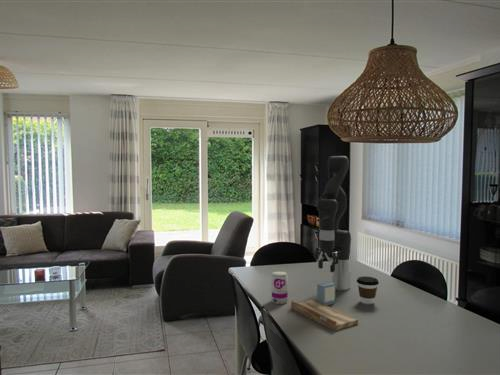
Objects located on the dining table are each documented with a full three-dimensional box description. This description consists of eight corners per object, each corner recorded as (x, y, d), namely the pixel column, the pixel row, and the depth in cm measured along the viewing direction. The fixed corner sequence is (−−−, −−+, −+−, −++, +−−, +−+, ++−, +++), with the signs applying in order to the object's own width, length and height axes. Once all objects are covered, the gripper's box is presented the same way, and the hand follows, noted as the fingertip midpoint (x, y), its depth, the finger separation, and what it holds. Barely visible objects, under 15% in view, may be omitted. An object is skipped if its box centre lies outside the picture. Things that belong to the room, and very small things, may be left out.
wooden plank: (313, 303, 200) (313, 295, 200) (358, 323, 175) (358, 315, 174) (290, 308, 193) (290, 300, 192) (334, 330, 167) (334, 321, 167)
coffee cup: (379, 300, 205) (380, 277, 204) (376, 307, 195) (377, 283, 194) (358, 297, 209) (358, 275, 209) (354, 304, 200) (354, 280, 199)
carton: (328, 300, 205) (329, 281, 204) (335, 303, 201) (335, 284, 200) (317, 303, 201) (317, 284, 200) (323, 306, 196) (324, 286, 196)
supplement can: (286, 305, 198) (286, 275, 197) (270, 303, 199) (270, 274, 199) (288, 299, 206) (288, 271, 205) (272, 298, 207) (272, 270, 206)
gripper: (342, 240, 195) (341, 272, 196) (322, 235, 207) (322, 266, 208) (331, 241, 191) (330, 274, 192) (311, 236, 203) (311, 268, 204)
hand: (326, 270), depth 200 cm, fingers open, 8 cm apart
